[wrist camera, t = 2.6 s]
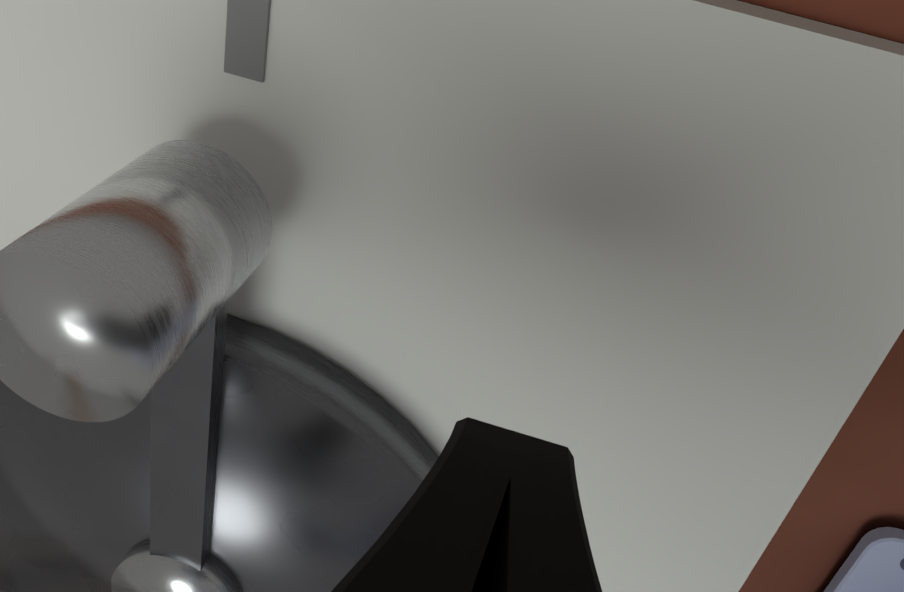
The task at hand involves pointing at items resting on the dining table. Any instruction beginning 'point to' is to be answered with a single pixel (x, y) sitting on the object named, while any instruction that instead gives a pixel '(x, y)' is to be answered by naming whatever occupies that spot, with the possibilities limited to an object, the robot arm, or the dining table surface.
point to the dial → (178, 403)
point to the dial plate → (530, 222)
